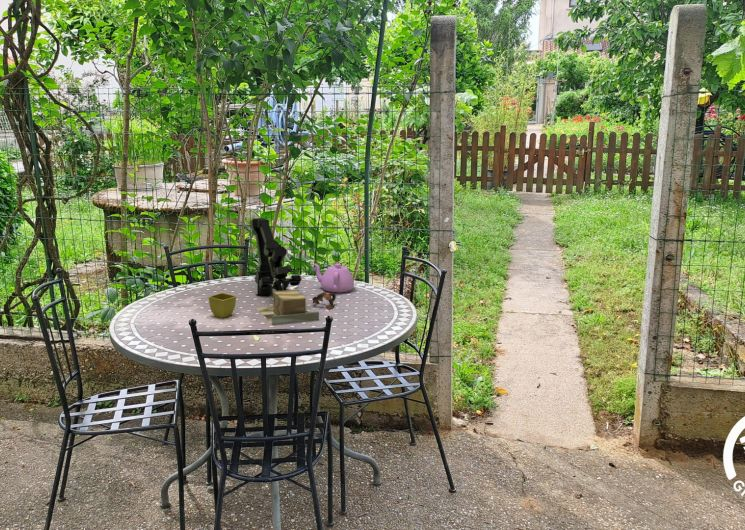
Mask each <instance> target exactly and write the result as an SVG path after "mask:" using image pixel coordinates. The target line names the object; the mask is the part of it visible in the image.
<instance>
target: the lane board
mask: <svg viewBox="0 0 745 530" xmlns="http://www.w3.org/2000/svg"><path fill="white" fill-rule="evenodd" d="M255 309H256V310H257V311H258V312H259V313H260V314H261V315H262V316H263V317H264V319H266V320H267V321H268V322H269V324H271V325H272V326H275V325H276V326H277V325H286V324H294V323H304V322H314V321H319V319H320V312H319V311H308V310H307V309H306V308H305V313H299V314H289V315H279V316H276V315H275V314H274V305H272V306H271V305H270V306H269V305H267V306H260V307H255Z"/></svg>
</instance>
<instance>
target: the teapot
mask: <svg viewBox="0 0 745 530" xmlns="http://www.w3.org/2000/svg"><path fill="white" fill-rule="evenodd" d="M312 264H313V266H314V267H315V270H316V280H317V281H318V282H319V283H320V286H321V287H322V289H323V290H324V291H325V292H329V293H347V292H350V291H351V290H352V289H353V288H354V286H355V281H354V277H353V275H352V273H351V271H350V269H349V267H347V266H344V265H342V263H334V265H330V266H328V267H327V268H326V269H325V271H324V273H323V274H322V273H321V267H320V265H318V263H314V262H313V263H312Z"/></svg>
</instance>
